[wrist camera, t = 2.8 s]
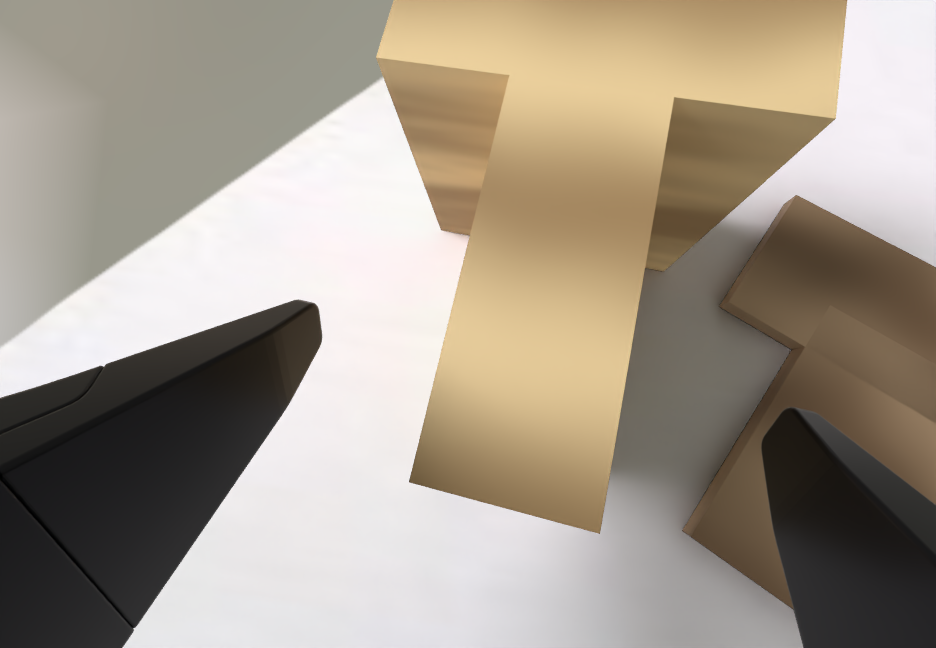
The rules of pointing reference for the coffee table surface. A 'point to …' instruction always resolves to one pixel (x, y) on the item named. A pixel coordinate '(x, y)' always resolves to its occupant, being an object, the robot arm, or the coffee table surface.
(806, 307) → the walnut T outline
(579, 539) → the coffee table surface
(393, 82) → the oak T block
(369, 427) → the coffee table surface
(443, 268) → the coffee table surface
